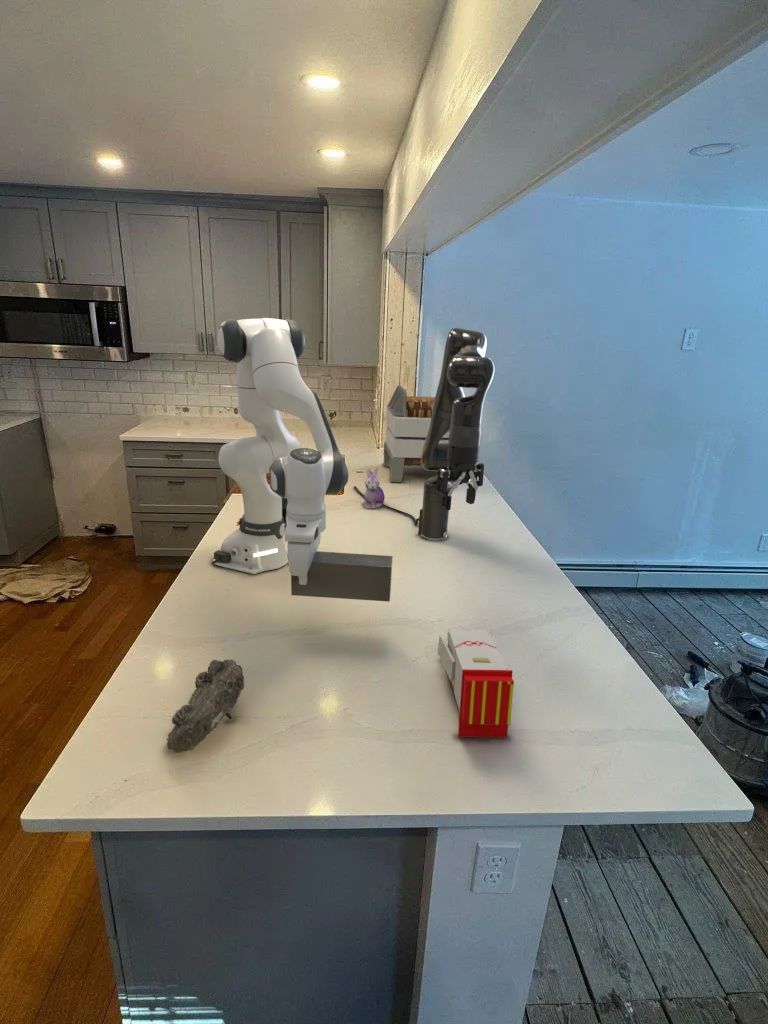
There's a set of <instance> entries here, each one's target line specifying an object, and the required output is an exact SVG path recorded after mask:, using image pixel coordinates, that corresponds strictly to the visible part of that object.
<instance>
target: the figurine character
mask: <svg viewBox="0 0 768 1024" xmlns="http://www.w3.org/2000/svg"><path fill="white" fill-rule="evenodd" d="M287 504H288V500H287V498H282V516H283V518H284V528H286V508H287Z"/></svg>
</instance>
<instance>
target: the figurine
mask: <svg viewBox="0 0 768 1024" xmlns="http://www.w3.org/2000/svg"><path fill="white" fill-rule="evenodd" d="M366 474H367V475H366V476H367V478H366V479H365V483H364V485H365V488H366V489H365V491H364V495H365V498H364V502H363V506H364V507H365V509H378V508H381V507H383V506H382V504H384V503H385V493H384V490H383V489H382V488H381V486H380V481H379V479H378V474H379V468H377V467H376V468H375V469H374V471H373V472H372V471H371V469H369V468H367V469H366ZM384 505H385V504H384Z"/></svg>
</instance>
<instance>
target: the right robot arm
mask: <svg viewBox="0 0 768 1024" xmlns="http://www.w3.org/2000/svg"><path fill="white" fill-rule="evenodd" d="M486 351H487V337H486V335H485V333H483V332H481V331H477V330H472V329H468V328H467V329H466V328H461V327H453V328H451V329H450V330H449V331H448V334H447V336H446V341H445V344H444V352H443V358H442V365H441V371H440V378H439V381H438V385H437V388H436V389H437V390H436V393H435V396H434V397H435V400H434V405H433V410H432V416H431V421H430V426H429V430H428V433H427V436H426V439H425V443H424V446H423V449H422V454H421V465H422V466H421V467H422V468H423V470H424V471H428V472H429V471H430V472H437V474H435V475H434V476H431V477H429V478H427V479H425V480H424V482H423V493H422V496H423V497H422V506H421V508H420V509H419V516H418V518H416V517H415V516H414V515H412V514H410V513H408V512H405V511H402V510H400V509H398V508H395V507H392V506H389V505H386V504H382V506H381V507H384V508H387V509H388V510H392V511H395V512H397V513H399V514H402V515H405V516H407V517H408V518H409V517H410V518H411V519H412V520H413V523H414V525H415V526H418V530H417V535H418V536H420V538H421V539H424V540H426V541H432V542H440V541H444V540H446V539H447V538H448V533H449V531H448V525H449V517H450V516H449V514H450V510H451V509H452V498H453V496H452V495H453V493H454V491H455V490H457V489H458V487H459V486H460V485H463V484H465V485H466V486H467V488H466V496H465V503H467V504H469V505H474V504H475V501H476V496H477V495H476V494H477V490H478V488H479V487H482V486H483V485H484V472H485V464H484V463H482V462H479V458H480V446H481V439H482V438H481V437H482V428H481V427H482V426H481V425H482V417H483V408H484V404H485V400H486V396H487V393H488V391H489V388H490V387H491V384H492V381H493V378H494V375H495V364H494V362H493V361H492V359H491V358H489V357H487V356H486ZM466 388H467V389H476V390H475V391H474V392H473V394H471V395H467V396H466V395H465V392H464V389H466ZM448 432H449V441H448V443H439V441H440V440H441V439H442V437H443V436H445V435H446V434H447V433H448ZM452 482H453V483H452ZM353 488H354V489H355V491H356V492H357V493H358V494H359V495H360V496H361V497H362V498H364V499H365V494H364V493H362V492H361V491H360V490H359V488H358V487H357V485H354V486H353Z"/></svg>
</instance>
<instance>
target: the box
mask: <svg viewBox="0 0 768 1024" xmlns="http://www.w3.org/2000/svg"><path fill="white" fill-rule="evenodd" d="M393 558H394V557H393V556H392V555H381V554H379V555H378V554H365V553H348V552H334V551H318V550H317V551H316V553H315V555H314V558H313V560H312V563H311V566H310V568H309V571H308V573H307V575H308V582H307V584H306V585H300V584H299V577H298V576H293V575H291V574H290V592H291V593H290V595H291V596H296V597H297V596H298V597H310V598H311V597H312V598H314V597H315V598H327V599H329V598H330V599H343V600H357V601H358V600H359V601H375V602H387V603H388V602H389V603H390V601H391V593H392V591H391V590H392V571H393Z"/></svg>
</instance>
